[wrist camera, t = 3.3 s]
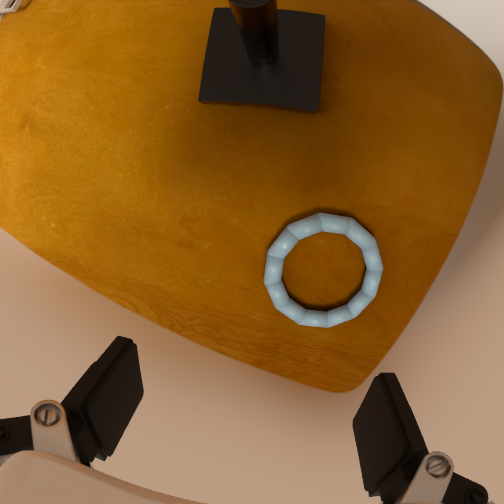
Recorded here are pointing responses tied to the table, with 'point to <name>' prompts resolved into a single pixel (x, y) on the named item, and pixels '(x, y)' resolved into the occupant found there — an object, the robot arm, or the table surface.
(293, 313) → the ring
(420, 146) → the table surface
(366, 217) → the table surface
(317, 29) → the post
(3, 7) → the zipper pull
